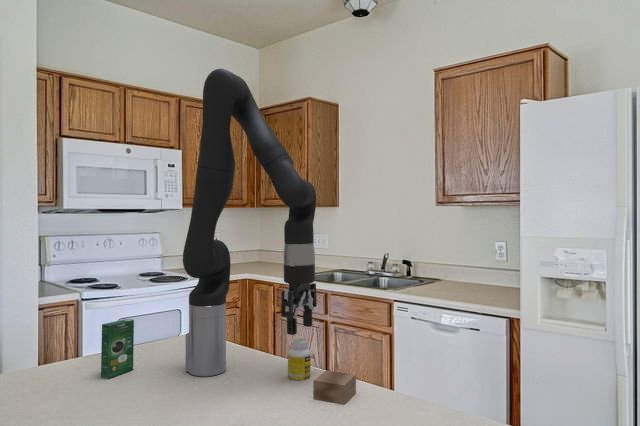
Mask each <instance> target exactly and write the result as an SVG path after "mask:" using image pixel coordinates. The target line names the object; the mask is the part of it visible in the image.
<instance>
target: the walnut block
mask: <svg viewBox="0 0 640 426" xmlns="http://www.w3.org/2000/svg"><path fill="white" fill-rule="evenodd" d="M312 382H313V383H312V385H313V386H312V388H313V390H312V392H313V393H312V397H313V399H315V400H321V401H326V402H332V403H338V404H343V405H344V404H345V403H346V402H347V401H348V400H349V399H350V398H351V397H352V396H353V395H354V394H355V393H356V392H357V374H354V373H348V372H347V373H346V372H341V371H340V372H339V371H333V370H328V369H327V370H325V371H323V373H321V374H320V375H318V376H317V377H316V378H314V379H313V381H312Z"/></svg>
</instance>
